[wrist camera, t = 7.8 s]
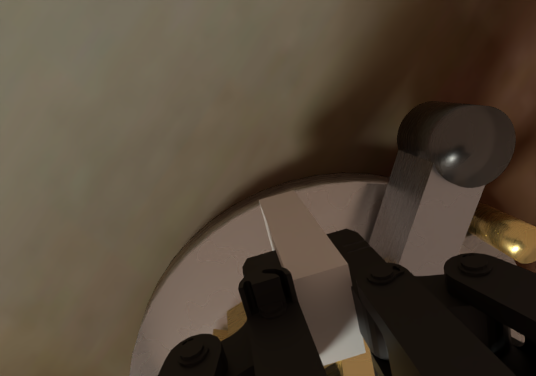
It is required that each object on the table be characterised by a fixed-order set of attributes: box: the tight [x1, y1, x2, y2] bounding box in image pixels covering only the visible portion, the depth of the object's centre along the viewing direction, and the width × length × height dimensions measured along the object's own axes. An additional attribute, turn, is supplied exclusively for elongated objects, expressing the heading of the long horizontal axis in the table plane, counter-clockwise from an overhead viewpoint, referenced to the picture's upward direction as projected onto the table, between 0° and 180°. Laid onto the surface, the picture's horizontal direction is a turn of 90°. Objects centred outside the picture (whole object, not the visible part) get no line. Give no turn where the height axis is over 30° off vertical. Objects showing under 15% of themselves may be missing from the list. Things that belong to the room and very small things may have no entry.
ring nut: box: [212, 101, 516, 376], centre depth 17 cm, size 22×15×4 cm, turn 167°
